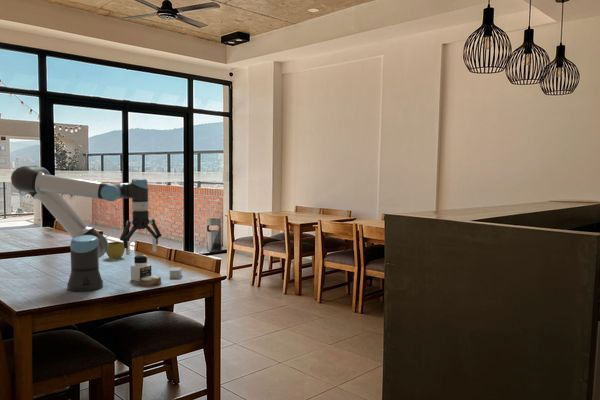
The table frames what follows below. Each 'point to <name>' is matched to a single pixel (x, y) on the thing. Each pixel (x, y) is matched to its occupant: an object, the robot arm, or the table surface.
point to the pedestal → (150, 281)
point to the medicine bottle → (140, 268)
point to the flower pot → (115, 249)
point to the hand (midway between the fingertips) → (141, 253)
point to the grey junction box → (175, 272)
